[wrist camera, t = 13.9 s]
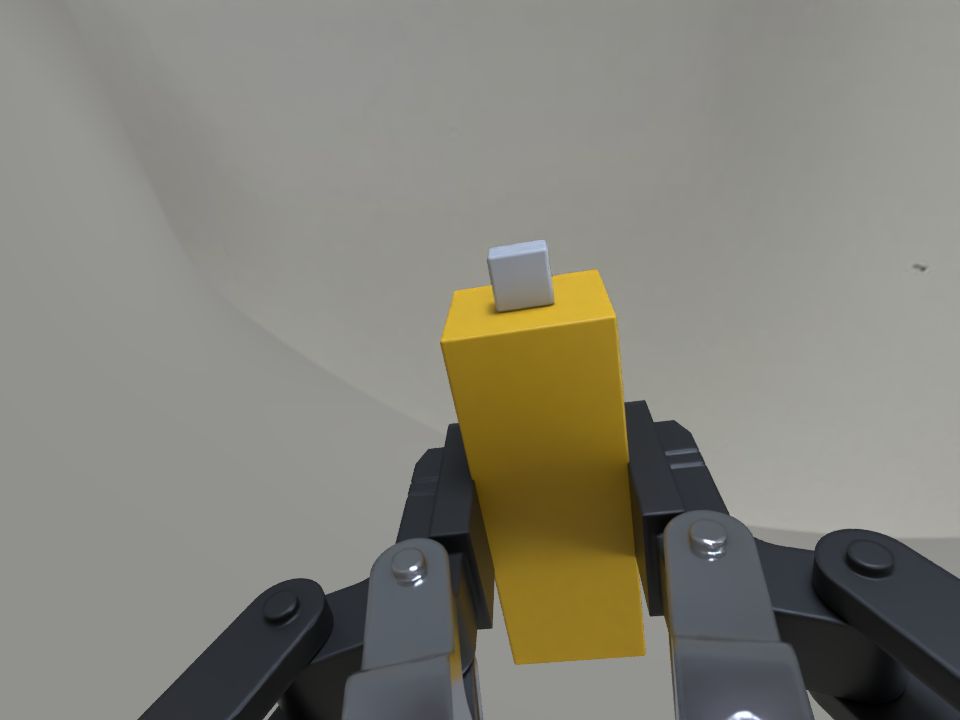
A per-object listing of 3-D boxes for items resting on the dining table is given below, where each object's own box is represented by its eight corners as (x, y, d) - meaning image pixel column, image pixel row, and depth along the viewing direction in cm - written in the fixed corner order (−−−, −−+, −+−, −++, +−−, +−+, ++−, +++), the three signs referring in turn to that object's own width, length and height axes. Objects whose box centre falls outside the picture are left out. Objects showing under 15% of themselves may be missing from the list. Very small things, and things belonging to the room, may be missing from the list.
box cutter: (627, 569, 15) (646, 657, 12) (514, 579, 15) (514, 666, 13) (592, 215, 11) (611, 253, 9) (443, 240, 11) (425, 282, 9)
